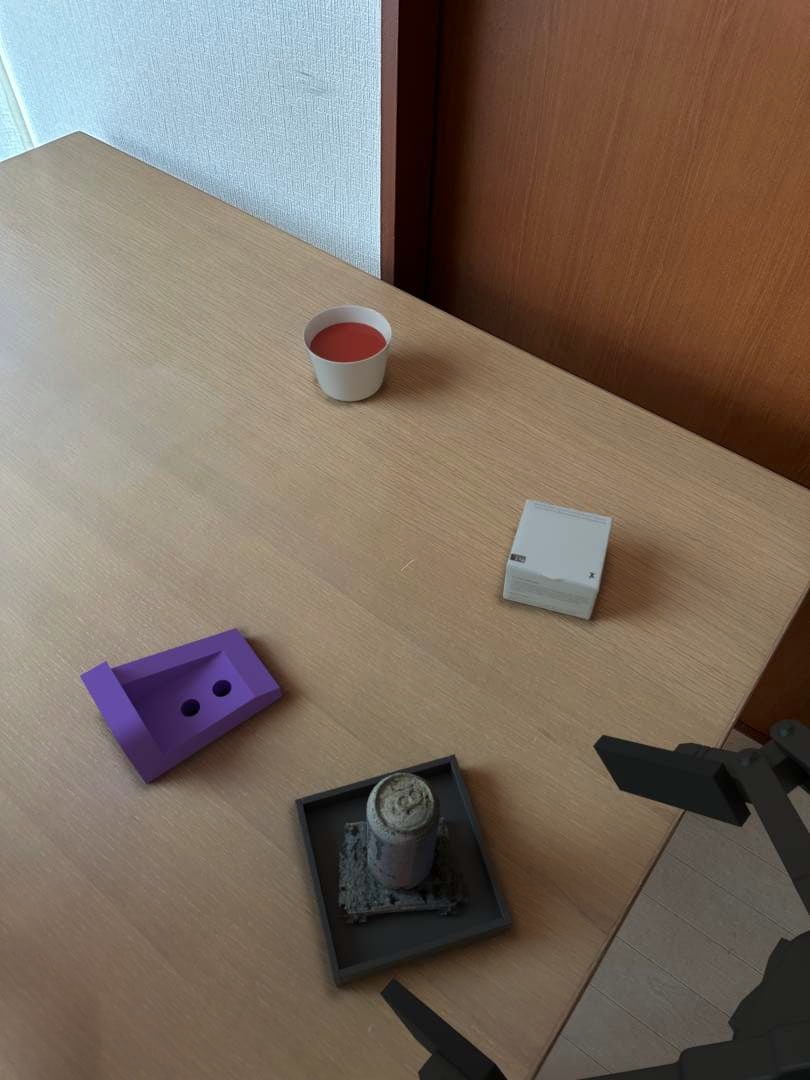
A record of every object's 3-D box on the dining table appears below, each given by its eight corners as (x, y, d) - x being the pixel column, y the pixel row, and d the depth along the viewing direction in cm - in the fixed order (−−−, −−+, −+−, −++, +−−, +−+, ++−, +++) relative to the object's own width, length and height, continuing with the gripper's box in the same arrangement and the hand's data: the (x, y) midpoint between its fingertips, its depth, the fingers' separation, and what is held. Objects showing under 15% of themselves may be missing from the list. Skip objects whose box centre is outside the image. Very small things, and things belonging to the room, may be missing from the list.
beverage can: (441, 801, 61) (447, 733, 51) (474, 910, 56) (487, 857, 47) (320, 835, 59) (302, 771, 50) (344, 949, 55) (329, 903, 45)
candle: (394, 352, 92) (393, 305, 87) (391, 410, 86) (390, 363, 81) (312, 352, 92) (306, 305, 87) (305, 409, 86) (298, 362, 81)
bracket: (146, 784, 62) (120, 747, 57) (107, 716, 66) (79, 675, 60) (282, 696, 67) (270, 654, 61) (239, 637, 70) (224, 592, 65)
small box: (604, 552, 75) (615, 516, 71) (589, 623, 71) (600, 589, 66) (520, 531, 77) (526, 495, 72) (500, 599, 72) (505, 565, 68)
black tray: (336, 987, 54) (333, 980, 52) (298, 811, 61) (294, 799, 59) (509, 931, 56) (512, 922, 54) (453, 767, 63) (454, 753, 61)
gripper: (1003, 2147, 12) (350, 1203, 30) (1345, 870, 23) (711, 739, 41) (808, 1969, 10) (233, 1072, 28) (1283, 660, 21) (645, 620, 39)
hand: (515, 874), depth 35 cm, fingers open, 13 cm apart
